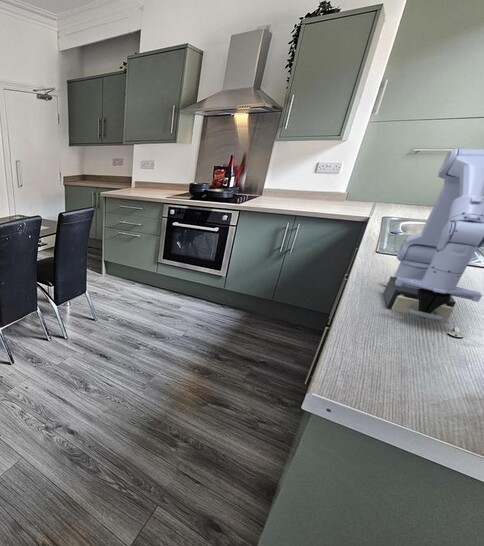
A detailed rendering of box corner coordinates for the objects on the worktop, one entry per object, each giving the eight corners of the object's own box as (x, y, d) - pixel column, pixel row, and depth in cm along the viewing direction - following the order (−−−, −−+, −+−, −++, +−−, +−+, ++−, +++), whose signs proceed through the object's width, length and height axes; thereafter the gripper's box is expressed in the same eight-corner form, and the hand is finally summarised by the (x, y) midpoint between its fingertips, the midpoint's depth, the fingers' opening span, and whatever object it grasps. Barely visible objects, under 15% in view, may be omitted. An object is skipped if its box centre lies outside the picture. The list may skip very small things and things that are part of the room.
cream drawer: (450, 331, 78) (459, 316, 76) (393, 317, 84) (400, 303, 82) (436, 306, 90) (443, 293, 88) (387, 296, 96) (393, 283, 94)
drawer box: (444, 322, 83) (456, 302, 81) (386, 308, 90) (395, 289, 88) (435, 305, 92) (445, 286, 90) (382, 293, 99) (390, 276, 97)
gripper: (407, 266, 78) (385, 313, 84) (497, 282, 70) (466, 332, 75) (403, 259, 83) (383, 303, 89) (486, 273, 75) (458, 321, 80)
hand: (421, 316), depth 82 cm, fingers closed, pressing on cream drawer
